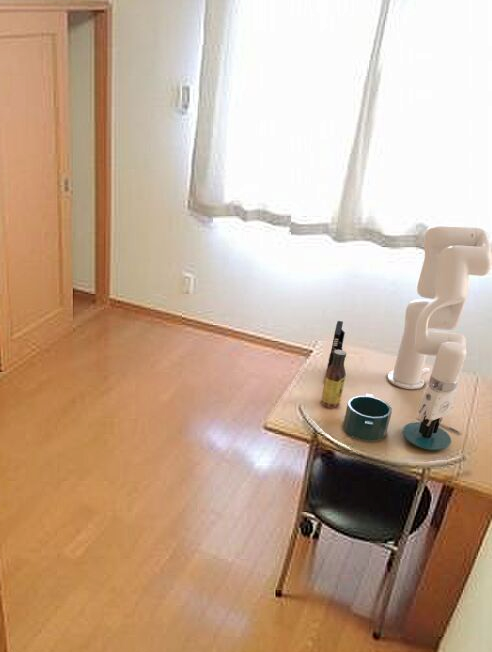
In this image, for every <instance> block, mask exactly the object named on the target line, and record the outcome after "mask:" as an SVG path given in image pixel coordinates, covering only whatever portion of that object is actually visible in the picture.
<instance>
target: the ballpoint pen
mask: <svg viewBox="0 0 492 652" xmlns="http://www.w3.org/2000/svg"><path fill="white" fill-rule="evenodd" d="M447 428H448V429H450V430H452V431H455V432H456V433H459V431H458V430H456V429H455V428H452V427H448V426H447Z"/></svg>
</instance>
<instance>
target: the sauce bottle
mask: <svg viewBox="0 0 492 652" xmlns="http://www.w3.org/2000/svg"><path fill="white" fill-rule="evenodd" d="M346 358H347V352H346V351H345V350H343V349H342V350H335V351H334V353H333V361H332V364H331V365H330V366H329V368H328V369H327V368H326V374H327V375H326V374H325V379H324V385H323V389H322V396H321V404H322V405H323V407H326V408H327V409H328V408H329V409H336V408H338V407H339V406H340V404H341V402H342V396H343V392H344V387H345V381H346V377H347V376H346V375H347V373H346V369H345V360H346Z"/></svg>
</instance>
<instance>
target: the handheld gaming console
mask: <svg viewBox="0 0 492 652" xmlns="http://www.w3.org/2000/svg"><path fill="white" fill-rule="evenodd" d="M343 324H344V321H343V320H337V322H336V325H335V329H334V335H333V340H332V345H331V350H330V353H329V356H328V362H327V367H326V370H327V369H328V368H329V366H330V365H331V364H332V361H333V353H334V351H335V350H343V343H344V338H345V334H346V332H345V331H344V330H343ZM326 375H327V373H325V376H326Z"/></svg>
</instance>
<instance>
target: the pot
mask: <svg viewBox="0 0 492 652" xmlns="http://www.w3.org/2000/svg"><path fill="white" fill-rule="evenodd" d="M364 394H365V395H356V396H353V397H351V398H350V399H349V400H348V401H347V405H346V410H345V414H344V419H343V424H342V429H343V431H344V432H345V433H346V434H347V436H349V437H350V438H356V439H359V440H363V441H368V442H369V441H370V442H372V441H379V440H382V439H384V438H385V437H386V436H387V432H388V429H389V424H390V420H391V417H392V413H393V411H392V407H391V406H390V405H389V403H388V402H387V401H385V400H383V399H382V398H378V397H375V396H374V394H372V393H364Z"/></svg>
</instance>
